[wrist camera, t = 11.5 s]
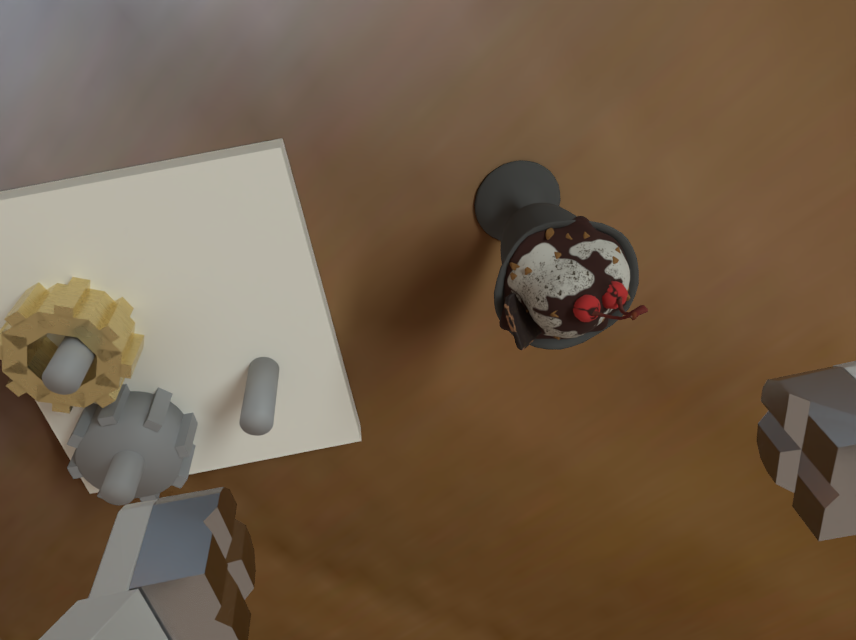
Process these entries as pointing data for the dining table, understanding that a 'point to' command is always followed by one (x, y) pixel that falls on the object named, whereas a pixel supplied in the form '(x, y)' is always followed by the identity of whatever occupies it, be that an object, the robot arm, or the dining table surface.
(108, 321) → the gear
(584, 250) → the sundae
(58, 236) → the gear board
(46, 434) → the dining table surface
